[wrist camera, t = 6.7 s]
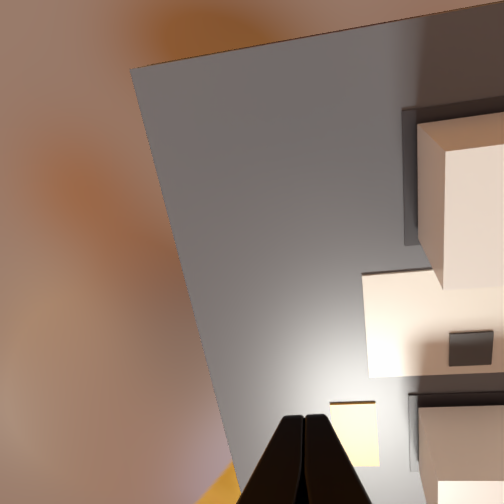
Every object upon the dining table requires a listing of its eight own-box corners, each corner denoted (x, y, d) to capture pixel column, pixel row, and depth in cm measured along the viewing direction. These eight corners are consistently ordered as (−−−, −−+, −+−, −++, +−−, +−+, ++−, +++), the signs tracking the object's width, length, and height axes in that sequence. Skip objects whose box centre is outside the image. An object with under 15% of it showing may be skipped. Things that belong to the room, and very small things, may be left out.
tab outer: (542, 227, 15) (601, 279, 12) (418, 238, 16) (442, 290, 13) (557, 104, 13) (629, 127, 10) (417, 123, 14) (445, 151, 11)
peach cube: (512, 471, 20) (548, 552, 17) (419, 471, 21) (437, 549, 18) (520, 404, 19) (561, 481, 15) (418, 407, 19) (438, 481, 16)
